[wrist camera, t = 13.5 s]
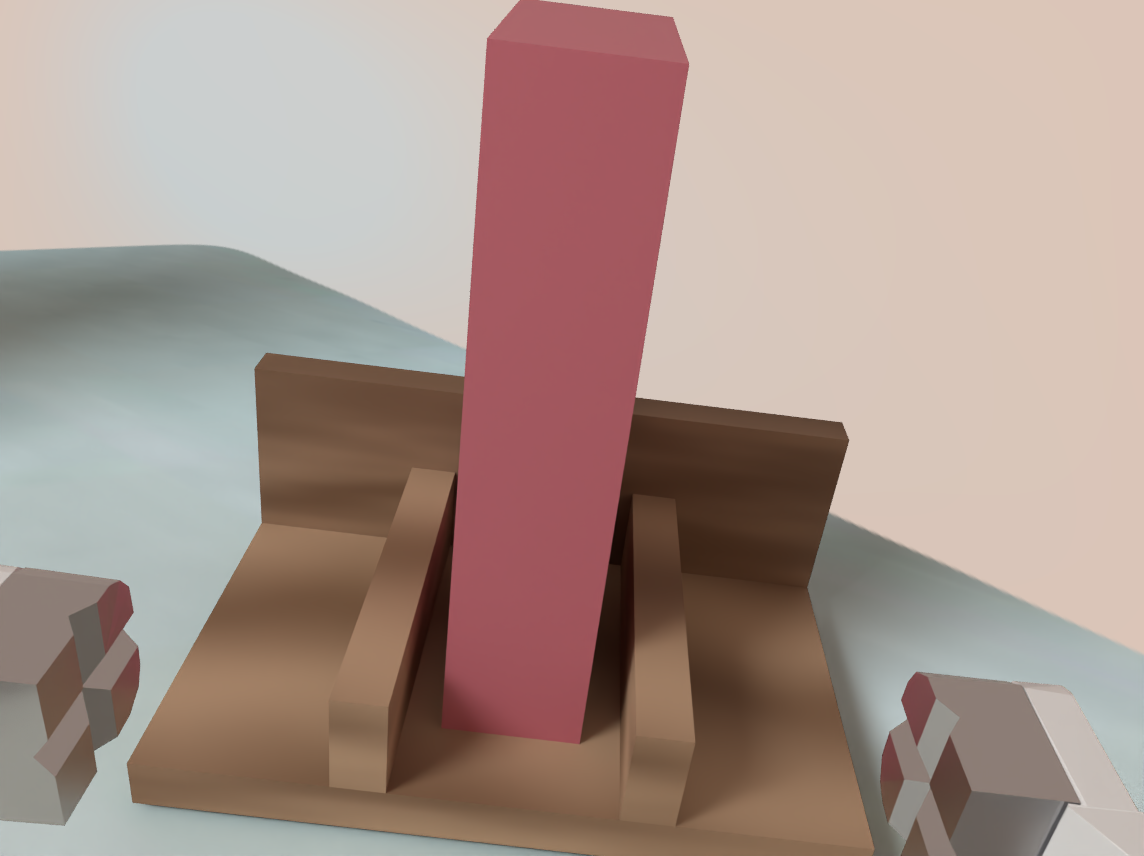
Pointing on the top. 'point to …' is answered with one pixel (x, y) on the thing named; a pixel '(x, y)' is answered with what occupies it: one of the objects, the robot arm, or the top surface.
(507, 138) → the red rectangular block
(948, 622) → the top surface
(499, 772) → the book rack
